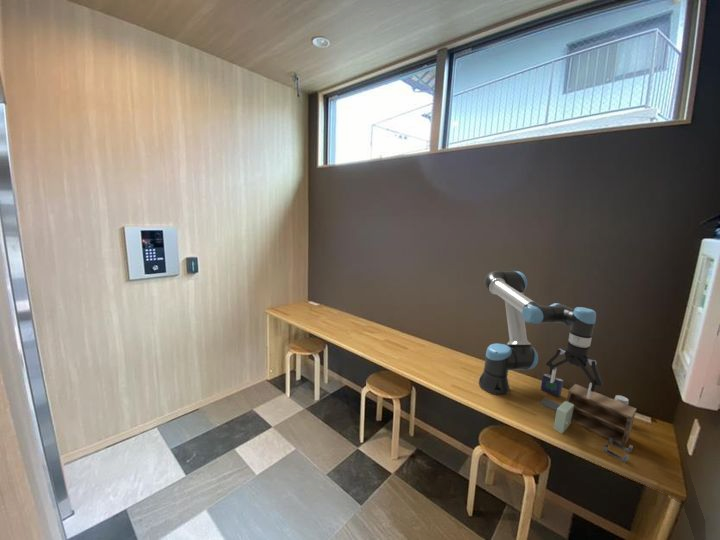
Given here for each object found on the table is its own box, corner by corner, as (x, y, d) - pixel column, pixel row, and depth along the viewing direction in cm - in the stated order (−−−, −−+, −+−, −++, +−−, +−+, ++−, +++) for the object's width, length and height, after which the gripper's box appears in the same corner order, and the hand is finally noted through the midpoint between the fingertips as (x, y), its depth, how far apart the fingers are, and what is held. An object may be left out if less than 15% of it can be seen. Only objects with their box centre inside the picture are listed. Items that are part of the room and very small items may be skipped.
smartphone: (544, 397, 153) (579, 411, 142) (544, 398, 153) (579, 413, 142) (539, 402, 148) (575, 418, 137) (539, 404, 148) (574, 420, 137)
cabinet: (563, 416, 139) (568, 390, 136) (569, 409, 144) (575, 383, 141) (624, 446, 122) (631, 416, 119) (629, 437, 127) (636, 408, 124)
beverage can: (616, 417, 140) (622, 394, 137) (626, 424, 135) (632, 401, 133) (607, 417, 140) (612, 394, 137) (616, 424, 135) (621, 401, 132)
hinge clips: (603, 451, 119) (604, 446, 118) (610, 440, 125) (611, 435, 124) (626, 463, 113) (627, 457, 113) (631, 451, 119) (633, 446, 119)
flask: (560, 395, 156) (564, 376, 154) (560, 397, 154) (563, 379, 151) (540, 388, 162) (543, 370, 159) (539, 390, 159) (543, 372, 157)
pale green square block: (553, 428, 130) (557, 408, 129) (561, 419, 137) (565, 400, 135) (564, 434, 127) (568, 414, 125) (572, 425, 133) (576, 405, 131)
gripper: (542, 335, 132) (535, 378, 136) (614, 358, 113) (602, 407, 117) (549, 332, 136) (541, 373, 140) (619, 353, 117) (607, 400, 121)
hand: (569, 389), depth 129 cm, fingers open, 13 cm apart
